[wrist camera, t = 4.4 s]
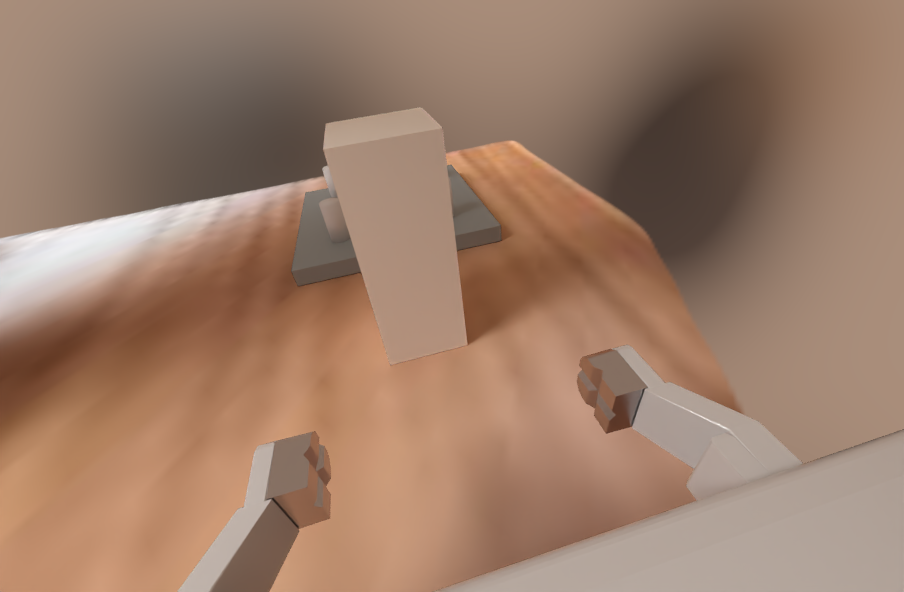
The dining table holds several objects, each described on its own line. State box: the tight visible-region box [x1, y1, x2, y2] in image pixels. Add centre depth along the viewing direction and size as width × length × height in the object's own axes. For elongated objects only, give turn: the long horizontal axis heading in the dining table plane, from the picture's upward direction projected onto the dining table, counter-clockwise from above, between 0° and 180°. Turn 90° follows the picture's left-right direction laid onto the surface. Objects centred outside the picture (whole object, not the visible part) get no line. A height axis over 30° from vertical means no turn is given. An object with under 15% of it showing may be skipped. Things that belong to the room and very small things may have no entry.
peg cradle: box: [291, 165, 501, 286], centre depth 38 cm, size 18×18×5 cm
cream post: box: [323, 107, 468, 365], centre depth 21 cm, size 5×5×13 cm
